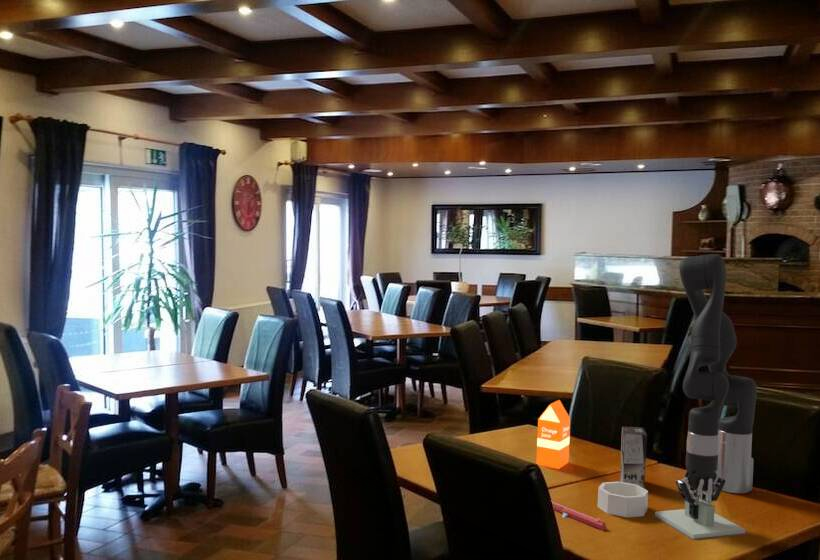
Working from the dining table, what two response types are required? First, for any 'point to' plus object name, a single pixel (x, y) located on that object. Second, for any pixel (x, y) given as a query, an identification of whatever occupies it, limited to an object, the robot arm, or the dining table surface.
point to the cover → (700, 521)
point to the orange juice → (553, 436)
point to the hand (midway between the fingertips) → (698, 517)
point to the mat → (698, 538)
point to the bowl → (622, 499)
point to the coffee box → (633, 455)
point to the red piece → (579, 516)
